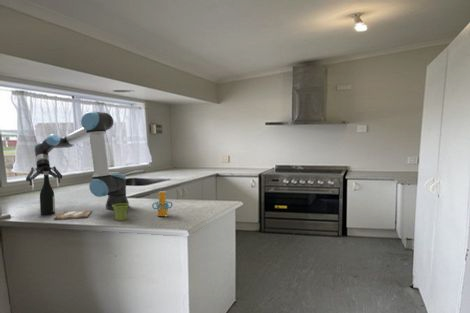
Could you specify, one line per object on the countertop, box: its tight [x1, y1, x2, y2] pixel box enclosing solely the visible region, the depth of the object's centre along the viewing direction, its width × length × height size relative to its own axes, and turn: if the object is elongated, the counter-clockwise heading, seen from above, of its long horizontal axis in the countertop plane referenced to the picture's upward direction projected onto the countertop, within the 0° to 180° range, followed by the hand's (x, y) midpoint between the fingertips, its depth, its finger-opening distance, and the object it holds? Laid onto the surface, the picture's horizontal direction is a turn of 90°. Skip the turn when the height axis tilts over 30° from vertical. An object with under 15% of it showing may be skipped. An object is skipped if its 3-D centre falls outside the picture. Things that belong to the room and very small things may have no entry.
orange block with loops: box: [151, 190, 173, 217], centre depth 199 cm, size 12×10×15 cm
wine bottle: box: [39, 167, 56, 216], centre depth 205 cm, size 8×8×30 cm
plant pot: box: [112, 203, 130, 221], centre depth 191 cm, size 9×9×9 cm
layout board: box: [53, 209, 93, 221], centre depth 200 cm, size 18×16×1 cm
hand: (45, 187), depth 205 cm, fingers open, 13 cm apart
